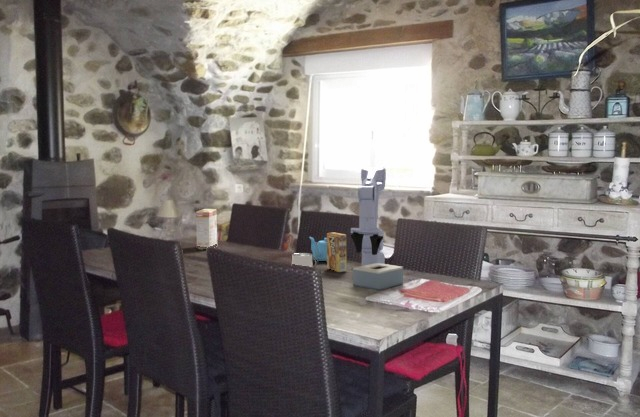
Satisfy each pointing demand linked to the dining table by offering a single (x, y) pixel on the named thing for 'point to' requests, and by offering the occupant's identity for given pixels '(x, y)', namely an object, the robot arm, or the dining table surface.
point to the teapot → (319, 249)
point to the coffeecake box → (206, 227)
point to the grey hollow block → (378, 276)
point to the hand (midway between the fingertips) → (366, 253)
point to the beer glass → (302, 259)
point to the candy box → (336, 252)
